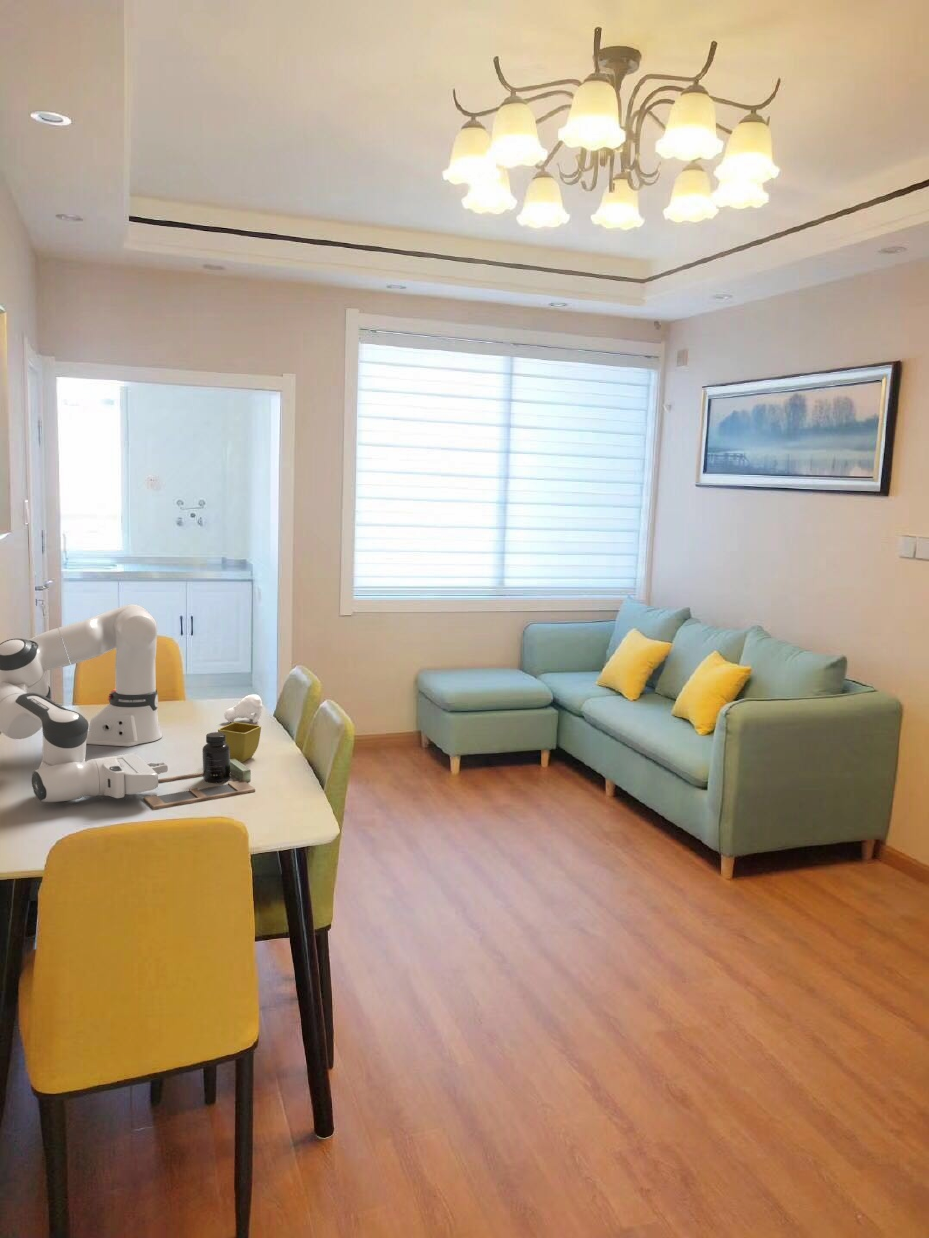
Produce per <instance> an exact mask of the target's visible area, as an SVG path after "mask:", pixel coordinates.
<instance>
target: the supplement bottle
mask: <svg viewBox="0 0 929 1238" xmlns="http://www.w3.org/2000/svg"><path fill="white" fill-rule="evenodd" d="M205 738H206V739H205V742H206V744H205V745H203V747H202V772H203V776H202V777H203V779H202V780H203V781H205V782H206V783H209V784H220V783H224V782H225V783H226V782H227V781H229V780H230V778H231V773H230V747H229V745H228V744H227V743H225V742H226V735H225V733H222V732H218V731H217V732H216V731H215V732H214V731H213V732H209V733H207V734H206V737H205Z"/></svg>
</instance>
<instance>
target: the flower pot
mask: <svg viewBox="0 0 929 1238" xmlns="http://www.w3.org/2000/svg"><path fill="white" fill-rule="evenodd" d="M261 730H262V725H257V724H250V723H244V722H237V721H234V722H233V723H232V722H231V723H228V724H227V725H225V726H222V727H220V728H218V729H217V732H222V733H225V735H226V742H225V743H227V744H228V745H229V747H230V759H236V760H238V761H239V762H240V763H242V762H245V761H247V760H249V759H252V757H253V756H254V754H255V753H256V751H257V749H258V747H259V744H260V738H261V732H262V731H261Z"/></svg>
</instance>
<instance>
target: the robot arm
mask: <svg viewBox="0 0 929 1238" xmlns="http://www.w3.org/2000/svg"><path fill="white" fill-rule="evenodd" d="M157 636H158V624H157V622H156V620H155V618H154V617H153V616H152V614H150V612H149V611H147V609H145V608H144V607H143V606H141V605H139V604H133V603H131V604H125V605H122V606H120V607H117V608H113V609H111V610H108V611H105V612H103V613H100V614H98V615H94V616H92V617H90V618H87V619H84V620H80V621H78V622H73V623H70V624H67V625H63V626H60V627H56V628H53V629H50V630H47V631H45V632H41V633H39V634H37V635H35V636H34V637H31V638H29V639H25V638H10V639H7V640H5V641H3V642H0V733H1V734H3V735H4V736H5V737H7V738H10V739H13V740H22V739H23V740H24V739H27V738H29V737H32V736H33V735H35V734H37V733H38V732H39V731H40V730H42V755H41V757H42V758H41V762H40V764H39V767H38V769H35V770H34V771H33V772H32V775H31V786H32V790H33V793H34V795H35V797H36V798H37V800H39V801H40V802H45V803H60V802H67V801H68V802H70V801H75V800H80V799H82V798H84V797H99V796H109V797H112V798H115V799H121V798H125V796H126V795H135V794H139V793H144V792H148V791H152V790H156V789H157V788H158V787H159V783H158V779H159V775H160V774H162V773H164V774H165V773H167V772H168V770H169V769H168V765H167V764H166V763H165V762H164V761H161V762H151V761H150V762H149V761H148V762H145V761H144V759H142V758H141V757H140V756H139V754H137V753H131V752H130V753H124V754H119V755H114V756H106V757H98V758H92V759H88V760H86V754H87V745H97V746H99V745H100V746H101V745H102V746H116V747H133V746H137V745H141V744H146V743H150V742H154V741H155V742H156V741H158V740H160V739H161V738H162V737H163V732H162V729H161V726H160V722H159V716H158V706H159V695H158V689H156V687H157V686H156V685H157V684H156V683H157V682H156V679H157V678H156V656H157V646H158V645H157V643H158V642H157V641H158V637H157ZM112 650H115V663H114V664H115V665H114V666H115V667H114V671H115V674H114V675H115V677H114V678H115V688H114V689H112V690H111V691H110V693H109V695H108V696H107V701H108V703H109V704H107V705H106V706H104V707H103V708H102V709H101V710H99V711H98V712H97V713H96V714H94V716H92V718H91V719H90V720H89V721H90V722H89V721H88V719H86V717H84V716H83V715H82V714H81V713H79V712H78V711H75V710H71V709H69V708H66V707H64V706H62V705H61V704H59V703H57V702H55V701H53V700H52V691H51V687H50V686H49V682H48V677H47V674H46V672H47V671H50V670H56V669H60V668H64V667H68V666H72V665H75V664H78V663H82V662H85V661H88V660H92V659H94V658H99V657H101V656H103V655H104V654H106V653H108V652H111V651H112Z"/></svg>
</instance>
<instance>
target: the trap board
mask: <svg viewBox="0 0 929 1238" xmlns="http://www.w3.org/2000/svg"><path fill="white" fill-rule="evenodd" d="M230 774H232V775H233V776H234V777H236V778H237V779H238V780H237V781H231V782H227V784H221V785H216V786H209V787H204V788H198V787H194V788H193V787H192V788H189V789H188V790H186V791H184V790H183V791H179V792H172V793H167V794H161V795H157V794H152V795H146V796H143V800H144V801H145V802H146V803H147V805H148V806H149V807H150V808H152V810H159V809H165V808H168V807H174V806H182V805H187V804H191V803H192V804H193V803H197V802H203V801H210V800H214V799H220V798H226V797H231V796H239V795H243V794H248V793H247V792H250V793H253V791H255V792H256V789H255V787H253V786H252V785H250V784H249V783H248V782H251V781H252V780H251V776H252V775H251V769H250V768H248V766H246V765H244V764H243V763H242V762H240V761H238V760H236V759H230ZM197 777H198V778H199V777H203V771H202V772H196V773H191V774H189V773H188V774H183V775H178V776H171V777H165V778H158V784H161V783H167V782H173V781H179V780H186V779H191V778H197Z"/></svg>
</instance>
